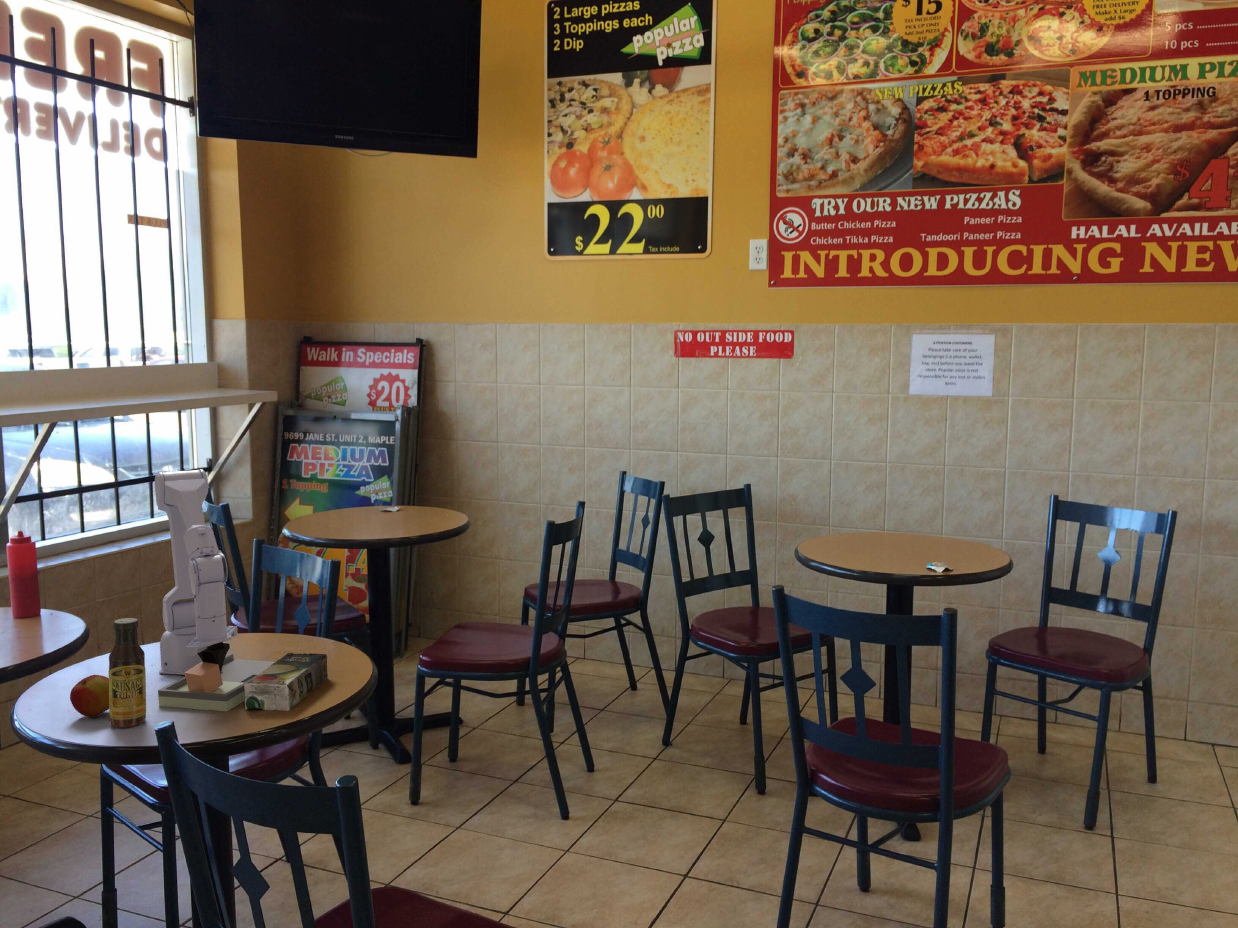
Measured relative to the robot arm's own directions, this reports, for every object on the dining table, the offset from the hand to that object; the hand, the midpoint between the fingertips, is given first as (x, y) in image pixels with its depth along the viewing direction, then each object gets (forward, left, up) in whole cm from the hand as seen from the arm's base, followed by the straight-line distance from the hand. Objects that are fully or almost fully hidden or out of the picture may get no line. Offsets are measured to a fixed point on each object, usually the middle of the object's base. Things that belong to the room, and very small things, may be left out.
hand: (214, 679), depth 200 cm
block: (0, -3, -1) cm, 3 cm away
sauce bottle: (-7, -16, -3) cm, 18 cm away
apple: (-16, -14, -4) cm, 22 cm away
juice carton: (+14, +4, -4) cm, 15 cm away
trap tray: (0, +5, -3) cm, 6 cm away
